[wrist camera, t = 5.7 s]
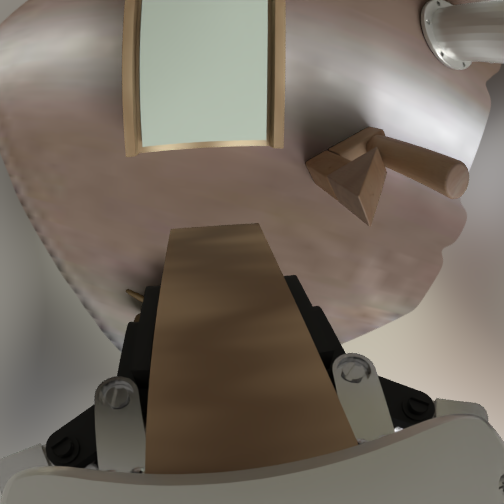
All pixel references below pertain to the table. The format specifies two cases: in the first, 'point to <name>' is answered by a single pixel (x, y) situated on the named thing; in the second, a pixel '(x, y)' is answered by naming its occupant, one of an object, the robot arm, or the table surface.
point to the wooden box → (272, 139)
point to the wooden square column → (234, 362)
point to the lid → (203, 71)
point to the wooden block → (381, 170)
